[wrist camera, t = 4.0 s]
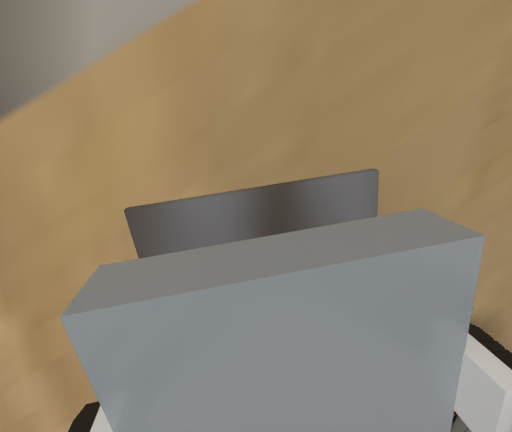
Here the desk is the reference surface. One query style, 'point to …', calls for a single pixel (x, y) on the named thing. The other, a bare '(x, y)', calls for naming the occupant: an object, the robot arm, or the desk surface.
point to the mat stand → (252, 212)
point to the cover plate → (285, 330)
